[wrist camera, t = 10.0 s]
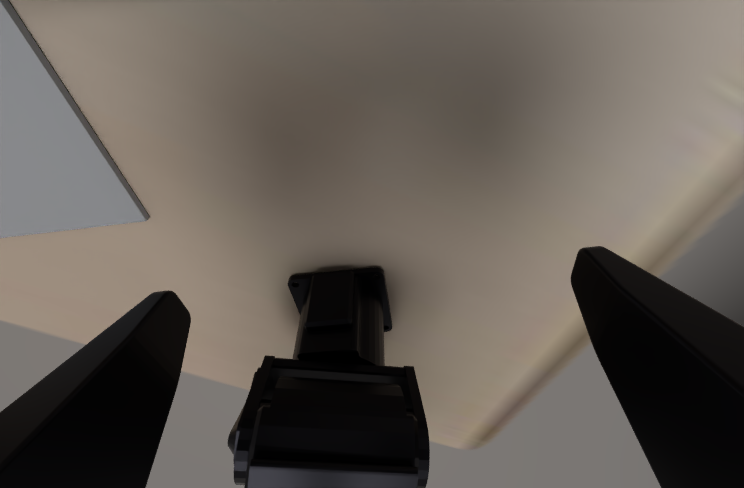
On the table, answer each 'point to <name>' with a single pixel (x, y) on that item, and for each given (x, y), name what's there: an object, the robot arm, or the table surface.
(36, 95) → the mat
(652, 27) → the table surface
